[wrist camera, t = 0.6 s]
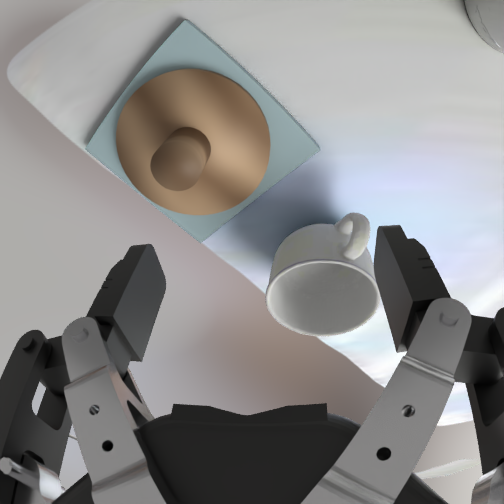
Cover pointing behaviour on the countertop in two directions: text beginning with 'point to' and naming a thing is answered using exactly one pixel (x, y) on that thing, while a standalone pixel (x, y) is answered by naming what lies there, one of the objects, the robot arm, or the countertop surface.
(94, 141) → the mat
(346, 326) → the teacup
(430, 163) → the countertop surface
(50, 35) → the countertop surface
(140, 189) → the lid
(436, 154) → the countertop surface
